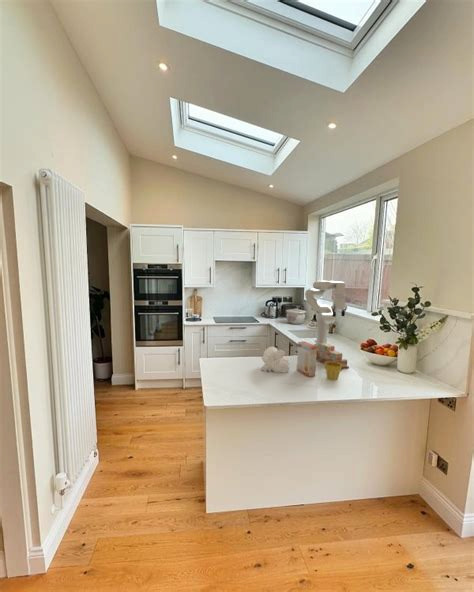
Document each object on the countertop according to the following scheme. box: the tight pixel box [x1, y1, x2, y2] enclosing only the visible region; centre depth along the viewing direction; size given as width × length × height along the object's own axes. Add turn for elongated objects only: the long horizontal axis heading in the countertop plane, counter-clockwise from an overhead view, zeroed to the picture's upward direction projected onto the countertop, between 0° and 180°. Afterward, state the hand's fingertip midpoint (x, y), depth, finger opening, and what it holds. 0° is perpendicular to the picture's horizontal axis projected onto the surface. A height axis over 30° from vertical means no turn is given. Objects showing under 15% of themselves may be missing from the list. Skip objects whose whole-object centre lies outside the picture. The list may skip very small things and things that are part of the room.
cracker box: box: [296, 340, 318, 378], centre depth 202 cm, size 14×6×21 cm, turn 23°
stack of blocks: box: [317, 342, 343, 362], centre depth 226 cm, size 21×6×12 cm, turn 20°
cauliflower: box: [260, 346, 290, 374], centre depth 207 cm, size 19×20×20 cm
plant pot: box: [324, 362, 342, 381], centre depth 194 cm, size 10×10×10 cm
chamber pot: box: [285, 307, 307, 325], centre depth 390 cm, size 28×27×21 cm
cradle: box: [316, 349, 350, 370], centre depth 227 cm, size 30×12×6 cm, turn 23°
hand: (338, 316), depth 251 cm, fingers open, 9 cm apart
